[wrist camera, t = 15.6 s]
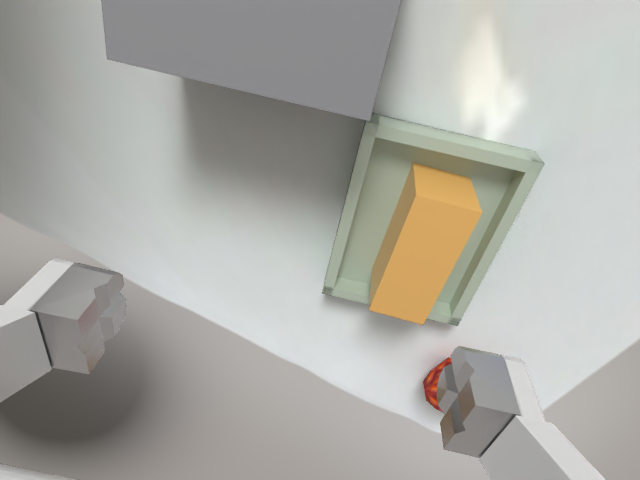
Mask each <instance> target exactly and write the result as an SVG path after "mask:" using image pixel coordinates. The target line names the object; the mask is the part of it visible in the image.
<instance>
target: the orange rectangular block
mask: <svg viewBox="0 0 640 480" xmlns="http://www.w3.org/2000/svg"><path fill="white" fill-rule="evenodd" d="M481 214H482V210H481V208H480V205H479V202H478V199H477V196H476V193H475V190H474V188H473V185H472V182H471V179H470V178H469V177H466V176H462V175H458V174H455V173H451V172H447V171H444V170H440V169H436V168H433V167H429V166H425V165H422V164H418V163H414V162H413V164H412V166H411V169H410V171H409V174H408V177H407V179H406V182H405V184H404V187H403V190H402V192H401V195H400V197H399V200H398V203H397V205H396V208H395V211H394V213H393V216H392V218H391V221H390V224H389V226H388V229H387V231H386V234H385V237H384V239H383V242H382V244H381V247H380V250H379V252H378V255H377V257H376V260H375V263H374V265H373V268H372V276H371V290H370V304H369V310H370V311H374V312H377V313H381V314H385V315H388V316H392V317H396V318H399V319H403V320H407V321H410V322H414V323H418V324H421V325H424V323H425V321H426V319H427V317H428V315H429V313H430V311H431V309H432V308H433V306H434V304H435V302H436V300H437V298H438V296H439V294H440V292H441V290H442V289H443V287H444V285H445V283H446V281H447V279H448V277H449V275H450V273H451V271H452V270H453V268H454V266H455V264H456V262H457V260H458V258H459V256H460V254H461V252H462V251H463V249H464V247H465V245H466V243H467V241H468V239H469V237H470V235H471V233H472V232H473V230H474V228H475V226H476V224H477V222H478V220H479V218H480V216H481Z"/></svg>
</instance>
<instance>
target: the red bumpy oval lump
mask: <svg viewBox="0 0 640 480" xmlns="http://www.w3.org/2000/svg"><path fill="white" fill-rule="evenodd" d="M450 364H452V360H451V358H447V359H446V360H445V361H443V362H442V363H441V364H439V365H438V366H437V367H435V368H434V369H433V370H432V371H430V373H429V374H428V376H427V377H426V378H425V380H424V381H423V384H424V390H425V397H426V401H428V402H429V403H430V404H431V405H432V406H433V407H434V408H436V409H437V410H439V411H441V412H443V411H442V410H441V409H440V407H439V406H438V402H437V384H438V380H439V376H440V374H441V372H442V370H443V368H444V367H446V366H448V365H450Z"/></svg>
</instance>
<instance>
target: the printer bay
mask: <svg viewBox="0 0 640 480" xmlns="http://www.w3.org/2000/svg"><path fill="white" fill-rule="evenodd" d="M101 1H102V12H103V22H104V32H105V43H106V53H107V59H108V60H112V61H116V62H121V63H125V64H129V65H133V66H138V67H142V68H146V69H150V70H155V71H159V72H163V73H167V74H172V75H176V76H180V77H184V78H189V79H193V80H197V81H201V82H205V83H210V84H214V85H218V86H222V87H227V88H231V89H235V90H239V91H244V92H248V93H252V94H256V95H261V96H265V97H269V98H273V99H278V100H282V101H286V102H290V103H295V104H299V105H303V106H307V107H311V108H316V109H320V110H324V111H328V112H333V113H337V114H341V115H345V116H350V117H354V118H358V119H362V120H367V121H370V118H371V114H372V110H373V106H374V103H375V99H376V95H377V91H378V87H379V83H380V80H381V76H382V72H383V68H384V64H385V60H386V57H387V53H388V49H389V45H390V41H391V37H392V34H393V30H394V26H395V22H396V18H397V14H398V11H399V7H400V3H401V0H101Z"/></svg>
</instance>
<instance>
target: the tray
mask: <svg viewBox="0 0 640 480" xmlns="http://www.w3.org/2000/svg"><path fill="white" fill-rule="evenodd" d="M413 162H414V163H418V164H422V165H425V166H429V167H433V168H436V169H440V170H444V171H447V172H451V173H455V174H458V175H462V176H466V177H469V178H470V179H471V182H472V185H473V188H474V190H475V193H476V196H477V199H478V202H479V205H480V208H481V210H482V214H481V216H480V218H479V220H478V222H477V224H476V226H475V228H474V230H473V232H472V233H471V235H470V237H469V239H468V241H467V243H466V245H465V247H464V249H463V251H462V252H461V254H460V256H459V258H458V260H457V262H456V264H455V266H454V268H453V270H452V271H451V273H450V275H449V277H448V279H447V281H446V283H445V285H444V287H443V289H442V290H441V292H440V294H439V296H438V298H437V300H436V302H435V304H434V306H433V308H432V309H431V311H430V313H429V315H428V317H427V319H430V320H435V321H439V322H443V323H447V324H451V325H455V326H458V324H459V322H460V321H461V319H462V317H463V315H464V313H465V311H466V309H467V307H468V306H469V304H470V302H471V300H472V298H473V296H474V294H475V293H476V291H477V289H478V287H479V285H480V283H481V281H482V280H483V278H484V276H485V274H486V272H487V270H488V268H489V267H490V265H491V263H492V261H493V259H494V257H495V255H496V253H497V252H498V250H499V248H500V246H501V244H502V242H503V240H504V239H505V237H506V235H507V233H508V231H509V229H510V227H511V226H512V224H513V222H514V220H515V218H516V216H517V214H518V213H519V211H520V209H521V207H522V205H523V203H524V201H525V199H526V198H527V196H528V194H529V192H530V190H531V188H532V186H533V185H534V183H535V181H536V179H537V177H538V175H539V173H540V172H541V170H542V168H543V166H544V162H543V161H542V160H541V158H540V157H539V156H538V154H537V153H536V152H535V151H531V150H527V149H522V148H518V147H514V146H510V145H505V144H501V143H497V142H493V141H488V140H484V139H480V138H476V137H471V136H467V135H463V134H459V133H454V132H450V131H446V130H442V129H437V128H433V127H429V126H425V125H420V124H416V123H412V122H408V121H403V120H399V119H395V118H391V117H386V116H382V115H378V114H374V113H372V114H371V118H370V121H367V120H366V121H365V125H364V128H363V132H362V136H361V140H360V144H359V148H358V152H357V156H356V160H355V164H354V168H353V172H352V176H351V179H350V183H349V187H348V191H347V195H346V199H345V203H344V207H343V211H342V215H341V219H340V223H339V226H338V230H337V234H336V238H335V242H334V246H333V250H332V254H331V258H330V262H329V266H328V270H327V274H326V277H325V282H324V287H323V291H322V293H323V294H327V295H331V296H335V297H340V298H344V299H348V300H352V301H356V302H360V303H364V304H370V290H371V276H372V268H373V265H374V263H375V260H376V257H377V255H378V252H379V250H380V247H381V244H382V242H383V239H384V237H385V234H386V231H387V229H388V226H389V224H390V221H391V218H392V216H393V213H394V211H395V208H396V205H397V203H398V200H399V197H400V195H401V192H402V190H403V187H404V184H405V182H406V179H407V177H408V174H409V171H410V169H411V166H412V164H413Z"/></svg>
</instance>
